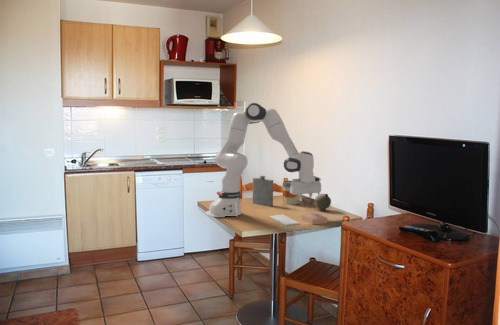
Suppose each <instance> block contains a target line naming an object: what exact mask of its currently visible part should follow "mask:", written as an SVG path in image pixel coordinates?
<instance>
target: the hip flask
mask: <svg viewBox="0 0 500 325" xmlns="http://www.w3.org/2000/svg"><path fill="white" fill-rule="evenodd" d="M265 178H266V175H260V176H259V177H253V178H252V204H254V203H256V204H255V205H259V204H260V206H268V207H273V205H274V179H267V178H266V179H265Z"/></svg>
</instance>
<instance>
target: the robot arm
mask: <svg viewBox="0 0 500 325" xmlns="http://www.w3.org/2000/svg"><path fill="white" fill-rule="evenodd" d="M260 122H262V123H263V125H264V126H265V128H266V131H267V133H268V135H269V136H270V137H271V139H272V140H274V141H276V142H278V143H279V144H281V145H282V147H283V149H284V150H285V152H286V154H287V156H288V157H287V158H285V159H284V161H283V168H284V170H285V171H286V172H289V173H296V172H298V178H292V180H290V181H291V187H290V193H291V194H293V195H295V194H299V197H300V201H304V198H302V195H305V194H307V195H308V197H309V198H312V196H313V194H318V193H319V194H321V191H322V183H321V181H322V180H321V177H318V176H316V175H314V166H315V163H314V162H315V161H314V155H313V154H312V153H311V152H309V151H300V152H299V151H298V150H297V148H296V146H295V144H294V142H293V140H292V138H291V137H290V134H289V132H288V130H287V128H286V126H285V123H284V121H283V119H282V117H281V115H280V114H279V113H278V111H277V110H276V108H275V109H274V108H267V109H266V108H265V107H263V106H262V105H261V104H259V103H257V102H252V103H250V104H248V105H247V106H246V108H245V111H243V112H241V111H238V112H235V113H233V115H232V117H231V120H230V123H229V127H228V131H227V135H226V138H225V142H224V144H223V145H222V147H221V149H220V151H218V152H217V153H216V155H215V157H214V161H215V164H216V165H217V166H219V167H220V168H222V169H226V172H225V175H224V176H223V177H222V179H221V191H218V190H217V191H216V194H217V195H218V197H217V198H216V199H215V200H214V201H212V202H211V203H210V204H209V210H206V211H205V215H206V216H207V217H211V218H226V217H225V216H236V217H238V216H240V215H242V214H243V212H242V209H241V201H240V200H241V191H240V185H241V184H240V182H241V176H242V174H243V171H244V170H245V169H246V168H247V166H248V163H249V162H248V157H247V156H246V155H245V154H244V153H241V152H238V151H239V149H240V148H241V147H242V146H243V145H244V143H245V141H246V140H245V138H246V134H247V130H248V126H249V125H251V124H252V125H253V124H258V123H260Z"/></svg>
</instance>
